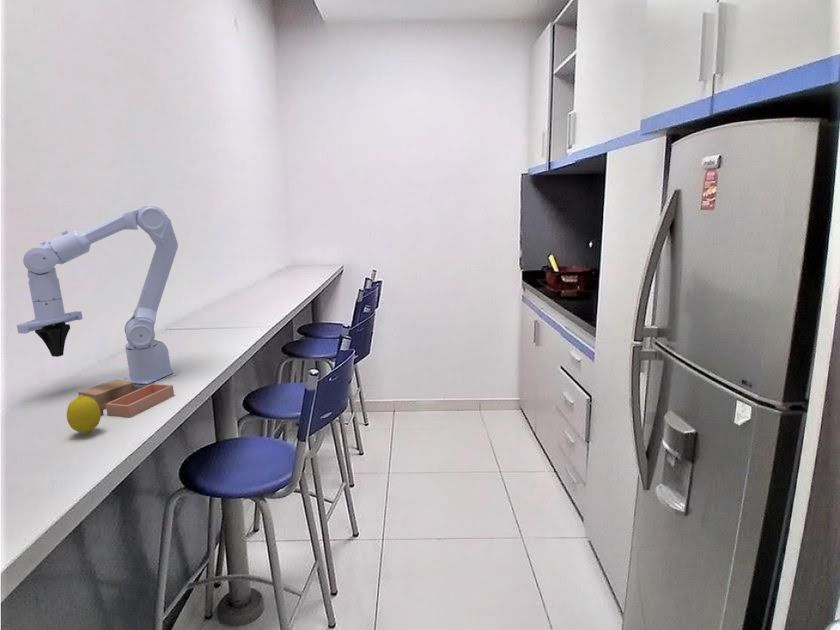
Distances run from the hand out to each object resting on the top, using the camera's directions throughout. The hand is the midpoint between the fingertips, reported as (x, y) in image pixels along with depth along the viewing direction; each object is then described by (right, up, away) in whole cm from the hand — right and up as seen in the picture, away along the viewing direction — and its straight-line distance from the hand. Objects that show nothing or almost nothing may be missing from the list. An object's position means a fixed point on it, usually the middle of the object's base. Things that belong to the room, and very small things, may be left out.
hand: (57, 355), depth 124 cm
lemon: (+20, -14, -21) cm, 33 cm away
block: (+15, -11, -5) cm, 19 cm away
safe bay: (+16, -10, -5) cm, 20 cm away
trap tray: (+24, -10, -7) cm, 27 cm away
